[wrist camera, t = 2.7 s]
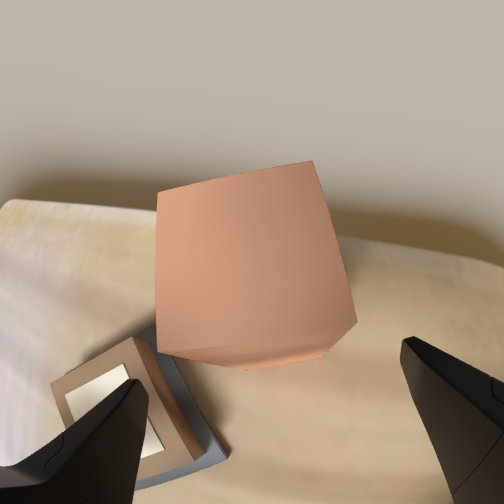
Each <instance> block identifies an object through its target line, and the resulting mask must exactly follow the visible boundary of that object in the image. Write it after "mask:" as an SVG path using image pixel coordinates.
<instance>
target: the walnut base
mask: <svg viewBox="0 0 504 504" xmlns="http://www.w3.org/2000/svg"><path fill="white" fill-rule="evenodd" d="M134 378H137V379H139V380H140V381H141V382H142V384H143V386H144V388H145V389H146V391H147V393H148V395H149V406H148V415H147V425H146V433H145V439H144V444H143V449H142V453H141V458H140V463H139V468H138V474H137V479H136V484H135V490H134V491H137V490H140V489H144V488H148V487H151V486H155V485H158V484H161V483H165V482H168V481H171V480H174V479H177V478H180V477H183V476H186V475H188V474H191V473H194V472H197V471H199V470H202V469H204V468H207V467H210V466H212V465H215V464H217V463H219V462H222V461H224V460H226V459H228V458H229V457H228V455H227V454H226V452H225V451H224V449H223V448H222V446H221V444H220V443H219V441H218V440H217V438H216V436H215V435H214V433H213V431H212V430H211V428H210V426H209V425H208V423H207V421H206V419H205V418H204V416H203V414H202V413H201V411H200V409H199V407H198V405H197V404H196V402H195V400H194V398H193V396H192V394H191V393H190V391H189V389H188V387H187V385H186V383H185V381H184V379H183V377H182V375H181V374H180V372H179V370H178V368H177V366H176V364H175V362H174V360H173V358H172V355H168V354H164V353H160V352H158V350H157V331H156V324H153V325H151V326H149V327H148V328H146V329H144V330H143V331H141V332H139V333H137V334H136V335H134V336H131V337H130V338H128V339H126V340H125V341H123V342H121V343H119V344H118V345H116V346H114V347H113V348H111V349H109V350H107V351H106V352H104V353H102V354H101V355H99V356H97V357H95V358H94V359H92V360H90V361H89V362H87V363H85V364H83V365H82V366H80V367H78V368H76V369H75V370H73V371H71V372H69V373H68V374H66V375H64V376H63V377H61V378H59V379H57V380H56V381H54V382H52V383H50V386H51V389H52V392H53V395H54V398H55V401H56V404H57V407H58V409H59V412H60V415H61V418H62V420H63V423H64V425H65V428H66V429H67V428H68V427H70V426H71V425H72V424H73V423H75V422H76V421H77V420H78V419H80V418H81V417H82V416H83V415H84V414H86V413H87V412H88V411H89V410H91V409H92V408H93V407H94V406H96V405H97V404H98V403H99V402H100V401H102V400H103V399H104V398H105V397H106V396H108V395H109V394H110V393H111V392H113V391H114V390H115V389H116V388H117V387H119V386H120V385H121V384H122V383H123V382H125V381H126V380H127V379H134Z"/></svg>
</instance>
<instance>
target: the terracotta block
mask: <svg viewBox="0 0 504 504" xmlns="http://www.w3.org/2000/svg"><path fill="white" fill-rule="evenodd" d="M155 301H156V331H157V350H158V352H160V353H164V354H168V355H172V356H176V357H181V358H185V359H189V360H194V361H199V362H203V363H208V364H213V365H219V366H224V367H229V368H235V369H241V370H251V369H259V368H266V367H273V366H279V365H285V364H291V363H297V362H303V361H308V360H314V359H319V358H321V357H322V356H323V355H324V354H325V353H326V352H327V351H328V350H329V349H330V348H331V347H332V346H333V345H335V344H336V343H337V342H338V341H339V340H340V339H341V338H342V337H343V336H344V335H345V334H346V333H347V332H348V331H349V330H350V329H351V328H352V327H353V326H354V325H355V324H356V323H357V318H356V313H355V309H354V304H353V300H352V296H351V291H350V287H349V283H348V279H347V275H346V271H345V267H344V263H343V260H342V256H341V252H340V248H339V245H338V241H337V238H336V234H335V231H334V228H333V224H332V221H331V217H330V214H329V211H328V207H327V204H326V201H325V198H324V195H323V191H322V188H321V185H320V182H319V179H318V176H317V173H316V170H315V167H314V164H313V162H312V161H308V162H301V163H295V164H289V165H283V166H277V167H272V168H266V169H261V170H256V171H251V172H246V173H240V174H236V175H231V176H227V177H221V178H217V179H213V180H208V181H204V182H199V183H195V184H191V185H187V186H183V187H178V188H174V189H170V190H166V191H163V192H159V193H158V202H157V220H156V251H155Z"/></svg>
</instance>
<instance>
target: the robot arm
mask: <svg viewBox="0 0 504 504" xmlns="http://www.w3.org/2000/svg"><path fill="white" fill-rule="evenodd" d="M400 363H401V366H402V369H403V372H404V375H405V378H406V381H407V384H408V387H409V390H410V393H411V396H412V399H413V401H414V404H415V406H416V408H417V410H418V413H419V415H420V417H421V419H422V422H423V424H424V426H425V428H426V431H427V433H428V435H429V438H430V440H431V443H432V445H433V447H434V450H435V452H436V455H437V457H438V460H439V462H440V465H441V468H442V470H443V473H444V476H445V478H446V481H447V484H448V487H449V489H450V492H451V495H452V498H453V501H454V504H504V382H502V381H500V380H498V379H496V378H494V377H490V375H488V374H486V373H484V372H482V371H480V370H478V369H476V368H475V367H473V366H471V365H469V364H467V363H465V362H463V361H461V360H459V359H457V358H455V357H453V356H451V355H450V354H448V353H446V352H444V351H442V350H440V349H438V348H436V347H434V346H432V345H430V344H428V343H427V342H425V341H423V340H421V339H419V338H417V337H415V336H412V337H408V338H405V339H403V341H402V346H401V353H400ZM148 406H149V395H148V393H147V391H146V389H145V388H144V386H143V384H142V382H141V381H140V380H139V379H137V378H134V379H127V380H126V381H125V382H123V383H122V384H121V385H120V386H119V387H117V388H116V389H115V390H114V391H113V392H111V393H110V394H109V395H108V396H106V397H105V398H104V399H103V400H102V401H100V402H99V403H98V404H97V405H96V406H94V407H93V408H92V409H91V410H89V411H88V412H87V413H86V414H84V415H83V416H82V417H81V418H80V419H78V420H77V421H76V422H75V423H73V424H72V425H71V426H70V427H68V428H67V429H66V430H65V431H64V432H62V433H61V434H60V435H58V436H57V437H56V438H55V439H53V440H52V441H51V442H49V443H48V444H47V445H45V446H44V447H42V448H41V449H39V450H38V451H36V452H35V453H33V454H32V455H30V456H28V457H27V458H25V459H24V460H22V461H21V462H19V463H17V464H15V465H12V466H6V467H2V466H0V504H132V501H133V495H134V490H135V484H136V479H137V474H138V468H139V463H140V458H141V453H142V449H143V444H144V439H145V433H146V425H147V415H148Z"/></svg>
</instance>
